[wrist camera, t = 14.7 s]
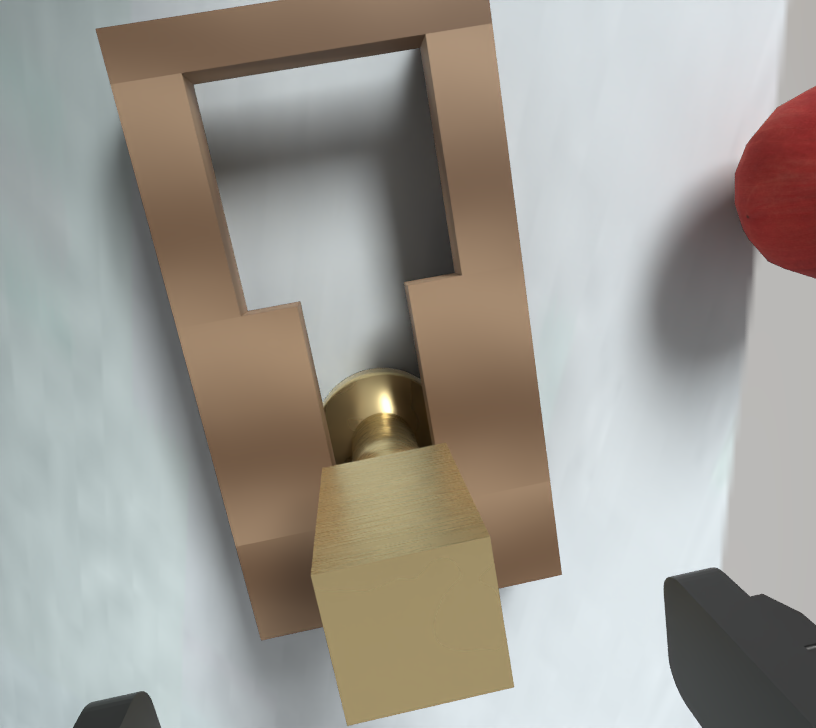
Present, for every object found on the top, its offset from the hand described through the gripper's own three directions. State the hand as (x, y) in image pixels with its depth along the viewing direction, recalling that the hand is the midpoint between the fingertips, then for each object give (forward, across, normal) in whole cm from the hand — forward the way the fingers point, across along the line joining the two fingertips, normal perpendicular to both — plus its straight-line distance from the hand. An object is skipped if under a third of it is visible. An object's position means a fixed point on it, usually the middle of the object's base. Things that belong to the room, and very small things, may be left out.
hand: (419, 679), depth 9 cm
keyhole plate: (+13, 0, -4) cm, 13 cm away
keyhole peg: (+13, 0, +1) cm, 13 cm away
